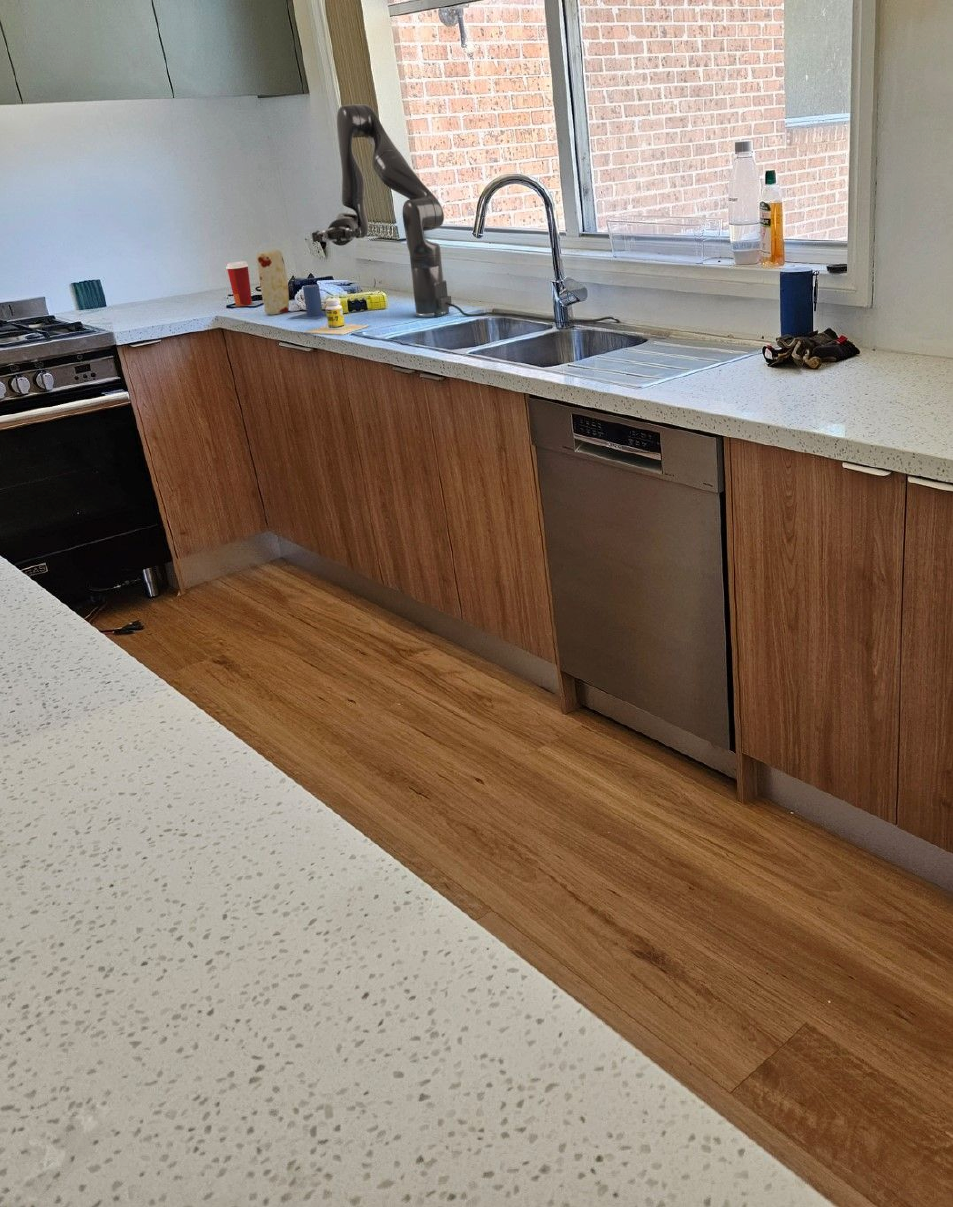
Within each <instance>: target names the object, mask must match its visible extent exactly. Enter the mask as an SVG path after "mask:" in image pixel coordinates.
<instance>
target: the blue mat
mask: <svg viewBox="0 0 953 1207" xmlns="http://www.w3.org/2000/svg"><path fill="white" fill-rule="evenodd" d="M322 311H323V315H321V316H315V317H308V316H307V312H305V313H301V314H299V315H295V316H292V317H288V320H309V321H317V320H321V319H324V318H327V313H326V310H322Z"/></svg>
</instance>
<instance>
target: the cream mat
mask: <svg viewBox="0 0 953 1207" xmlns="http://www.w3.org/2000/svg"><path fill="white" fill-rule="evenodd" d="M344 326H345V327H344V328H343V329H339V330H330V329H329V328H328V324H327V325H323V326H321V327H317V328H313V329H310V330H308V331H305V333H306V334H316V335H317V334H318V335H320V334H321V335H338V336H343V335H346V334H349V333H352V332H355V331H358V330H361V329H364V328H367V327H369V324H354V323H353V324H351V323H344Z"/></svg>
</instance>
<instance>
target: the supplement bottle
mask: <svg viewBox="0 0 953 1207" xmlns="http://www.w3.org/2000/svg"><path fill="white" fill-rule="evenodd" d="M325 303H326V306H325V311H326V313H327V317H326V319H327V321H326V322H327V325H328V328H329V329H330V330H339V329H343V328H344V327H345V326H344V324H345V319H344V310H343V306H342V305H341V299H340V298H339V297H333V298H328V299H326V300H325Z"/></svg>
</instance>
